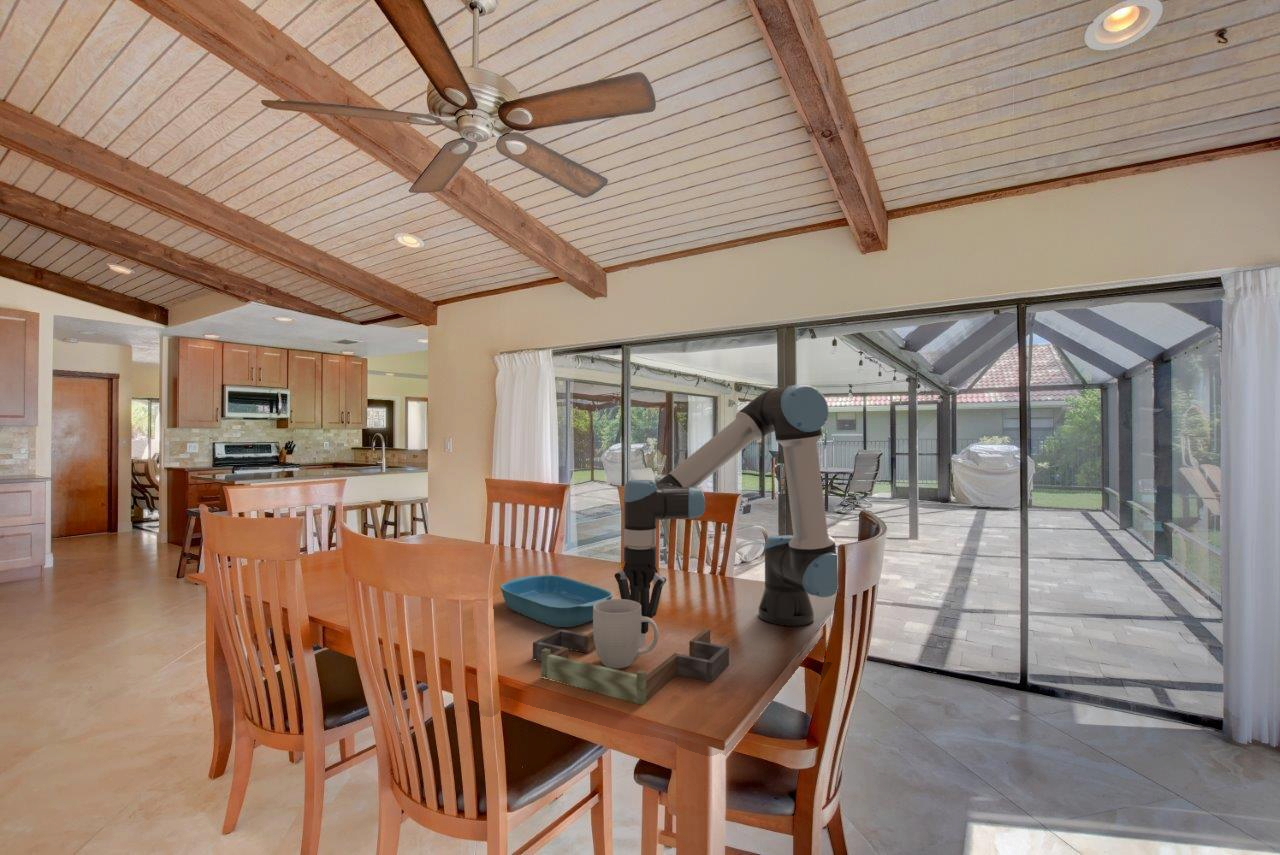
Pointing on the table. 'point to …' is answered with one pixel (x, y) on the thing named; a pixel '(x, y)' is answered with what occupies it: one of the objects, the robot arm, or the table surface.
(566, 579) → the casserole dish
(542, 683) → the table surface
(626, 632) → the mug
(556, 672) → the channel
